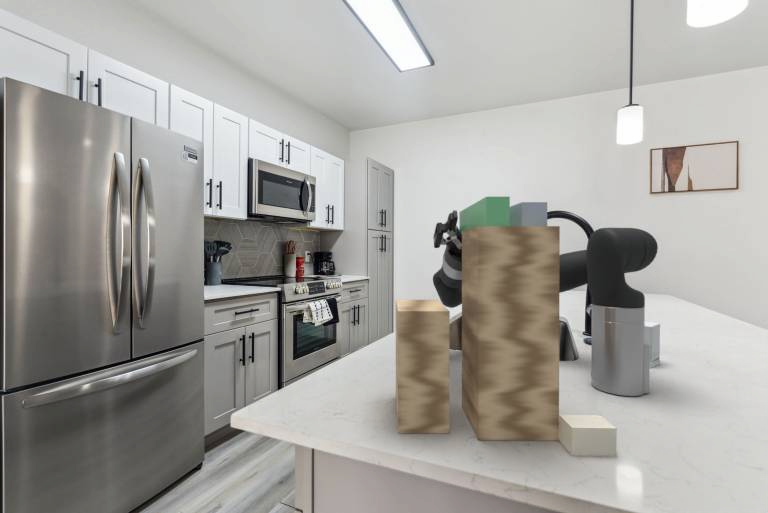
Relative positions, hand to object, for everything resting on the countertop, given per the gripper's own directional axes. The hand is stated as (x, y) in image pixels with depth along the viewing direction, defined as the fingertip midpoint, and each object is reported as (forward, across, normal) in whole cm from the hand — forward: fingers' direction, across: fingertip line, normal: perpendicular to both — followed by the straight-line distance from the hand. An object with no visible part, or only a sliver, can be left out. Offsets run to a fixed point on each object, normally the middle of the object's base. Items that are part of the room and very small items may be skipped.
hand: (476, 214), depth 67 cm
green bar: (+1, 0, -4) cm, 5 cm away
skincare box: (-41, -47, -18) cm, 65 cm away
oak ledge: (-14, +11, -33) cm, 37 cm away
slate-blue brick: (+5, -6, -7) cm, 11 cm away
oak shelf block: (-11, -3, -34) cm, 36 cm away
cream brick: (-4, -12, -39) cm, 41 cm away
